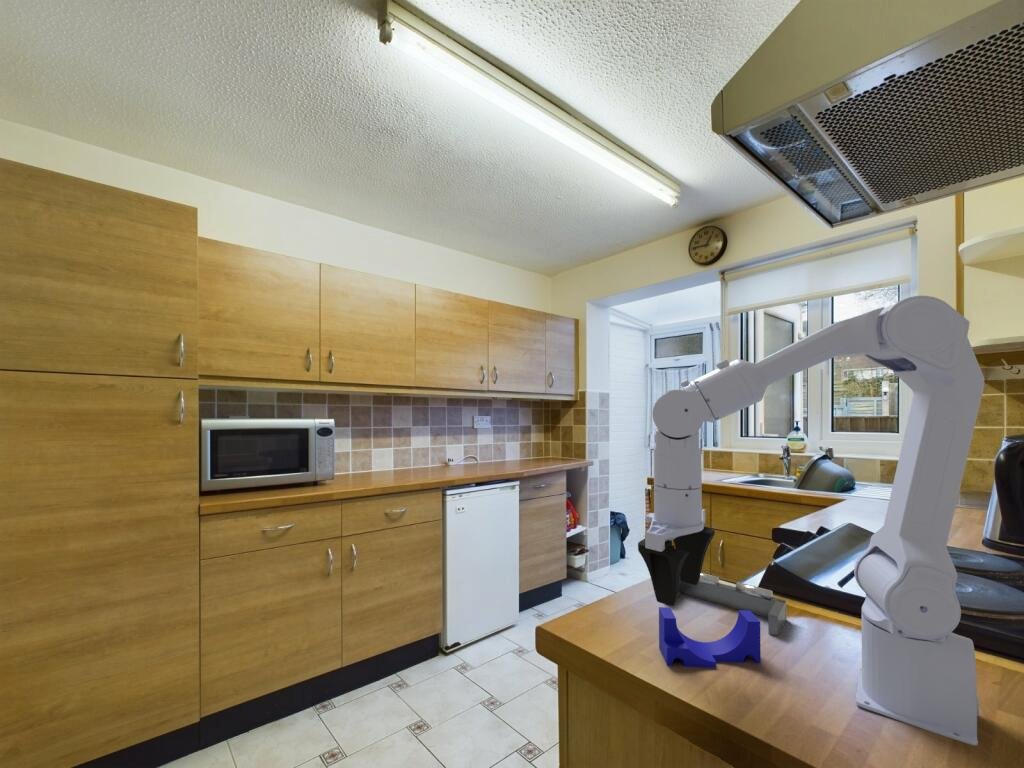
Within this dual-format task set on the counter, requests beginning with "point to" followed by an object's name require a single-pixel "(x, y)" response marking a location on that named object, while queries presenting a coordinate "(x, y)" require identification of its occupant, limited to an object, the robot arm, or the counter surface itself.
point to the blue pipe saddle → (708, 653)
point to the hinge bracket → (739, 599)
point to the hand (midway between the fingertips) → (678, 592)
